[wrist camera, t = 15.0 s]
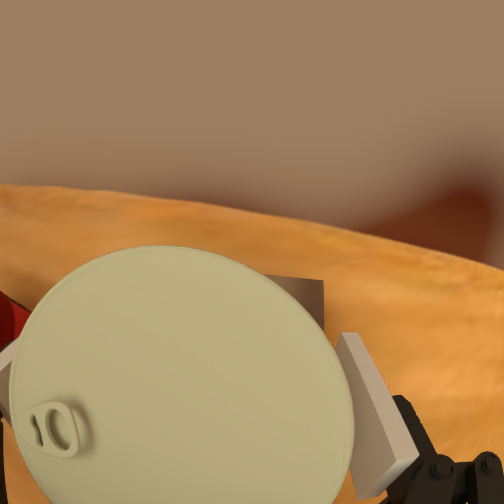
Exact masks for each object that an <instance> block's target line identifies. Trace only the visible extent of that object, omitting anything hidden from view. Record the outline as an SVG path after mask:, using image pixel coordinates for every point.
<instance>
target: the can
mask: <svg viewBox="0 0 504 504" xmlns="http://www.w3.org/2000/svg"><path fill="white" fill-rule="evenodd" d="M9 406H10V414H11V421H12V426H13V430H14V434H15V438H16V441H17V444H18V447H19V450H20V452H21V455H22V457H23V459H24V461H25V464H26V466H27V468H28V470H29V472H30V474H31V475H32V477H33V479H34V480H35V482H36V483H37V485H38V486H39V488H40V489H41V491H42V492H43V494H44V495H45V496H46V497H47V499H48V500H49V501H50V503H51V504H332V503H333V502H334V500H335V498H336V497H337V495H338V493H339V491H340V489H341V487H342V485H343V482H344V479H345V477H346V474H347V471H348V469H349V465H350V461H351V456H352V451H353V445H354V433H355V420H354V410H353V402H352V397H351V393H350V388H349V384H348V381H347V378H346V374H345V372H344V369H343V367H342V364H341V362H340V360H339V358H338V356H337V354H336V352H335V350H334V348H333V346H332V344H331V343H330V341H329V340H328V338H327V337H326V335H325V333H324V332H323V330H322V329H321V327H320V326H319V325H318V324H317V322H316V321H315V320H314V319H313V317H312V316H311V315H310V314H309V313H308V312H307V311H306V310H305V308H304V307H303V306H302V305H301V304H300V303H299V302H298V301H297V300H296V299H295V298H293V297H292V296H291V295H290V294H289V293H288V292H286V291H285V290H284V289H283V288H281V287H280V286H279V285H278V284H276V283H275V282H273V281H272V280H270V279H269V278H267V277H266V276H264V275H263V274H261V273H259V272H257V271H256V270H254V269H252V268H250V267H248V266H247V265H244V264H242V263H240V262H237V261H235V260H233V259H230V258H228V257H226V256H222V255H219V254H216V253H212V252H209V251H206V250H201V249H197V248H190V247H182V246H174V245H150V246H140V247H133V248H128V249H123V250H119V251H116V252H113V253H109V254H106V255H103V256H100V257H98V258H96V259H93V260H91V261H89V262H87V263H85V264H84V265H82V266H80V267H78V268H77V269H75V270H74V271H72V272H71V273H69V274H68V275H66V276H65V277H64V278H63V279H61V280H60V281H59V282H58V283H57V284H56V285H55V286H54V287H52V288H51V289H50V290H49V291H48V292H47V294H46V295H45V296H44V297H43V298H42V299H41V301H40V302H39V303H38V304H37V306H36V307H35V309H34V310H33V312H32V313H31V315H30V317H29V318H28V320H27V322H26V324H25V326H24V328H23V330H22V332H21V334H20V336H19V339H18V342H17V345H16V348H15V351H14V355H13V360H12V364H11V370H10V378H9Z"/></svg>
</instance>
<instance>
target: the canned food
mask: <svg viewBox="0 0 504 504" xmlns="http://www.w3.org/2000/svg"><path fill="white" fill-rule="evenodd" d="M30 315H31V312H30V311H29V310H28V309H27V308H26V307H24V306H23V305H21V304H19V303H18V302H16V301H15V300H13V299H11V298H10V297H8V296H7V295H5V294H4V293H2V292H1V291H0V350H1V348H2V347H3V346H4V345H6V344H7V343H8V342H10V341H12V340H14V339H16V338H18V337H19V336H20V334H21V332H22V330H23V328H24V326H25V324H26V322H27V320H28V318H29V317H30Z"/></svg>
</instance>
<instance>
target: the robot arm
mask: <svg viewBox="0 0 504 504" xmlns="http://www.w3.org/2000/svg"><path fill="white" fill-rule="evenodd" d="M18 339H19V337H18V338H16V339H14V340H12V341H10V342H8V343H7V344H6V345H4V346H3V347H2V348H1V350H0V504H8V500H7V493H6V485H5V474H4V458H3V423H2V421H1V418H2V417H3V416H4V418H5V419H6V421H7V422H8V424H9V425H10V426H11V427H12V428H13V426H12V421H11V414H10V406H9V378H10V370H11V364H12V360H13V355H14V351H15V348H16V345H17V342H18ZM336 354H337V356H338V358H339V360H340V362H341V364H342V367H343V369H344V372H345V374H346V378H347V381H348V384H349V388H350V393H351V397H352V402H353V410H354V420H355V433H354V445H353V451H352V456H351V461H350V465H349V467H350V471H351V475H352V479H353V483H354V488H355V492H356V496H357V501H358V500H363V499H368V498H372V497H377V496H379V495H380V494H381V493H382V492H383V491H384V490H387V494H388V496H387V497H386V498H385V499H384V500H383V501H382V502H380V503H379V504H466V503H467V502H468V504H504V474H503V468H502V463H501V461H500V458H499V457H498V456H497V455H496V454H494V453H492V452H488V451H486V452H482V453H481V454H479V455H478V456H477V457H476V458H475V459H474V460H473V461H472V462H458V463H454V461H453V460H452V459H451V458H450V457H448V456H445V455H442V454H437V452H436V451H435V449H434V447H433V445H432V443H431V441H430V439H429V437H428V435H427V433H426V431H425V429H424V427H423V425H422V424H421V423H420V420H419V418H418V416H417V415H416V412H415V410H414V409H413V407H412V405H411V403H410V402H409V401H408V400H406V399H405V398H404V397H403V396H402V395H395V396H391V394H390V392H389V390H388V388H387V386H386V384H385V383H384V381H383V379H382V377H381V375H380V373H379V371H378V369H377V367H376V365H375V364H374V362H373V360H372V358H371V356H370V354H369V352H368V351H367V349H366V347H365V345H364V343H363V341H362V340H361V338H360V336H359V334H358V332H341V335H340V338H339V342H338V345H337V348H336Z"/></svg>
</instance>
